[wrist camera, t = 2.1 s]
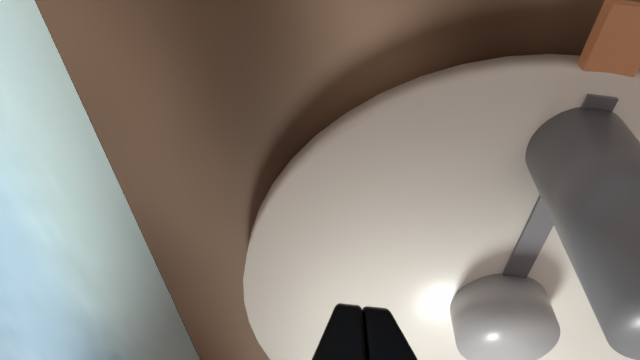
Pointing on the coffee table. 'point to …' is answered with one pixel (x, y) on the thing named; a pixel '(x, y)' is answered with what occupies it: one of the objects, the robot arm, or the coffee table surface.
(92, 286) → the coffee table surface
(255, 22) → the stand plate
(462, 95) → the dial
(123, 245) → the coffee table surface
